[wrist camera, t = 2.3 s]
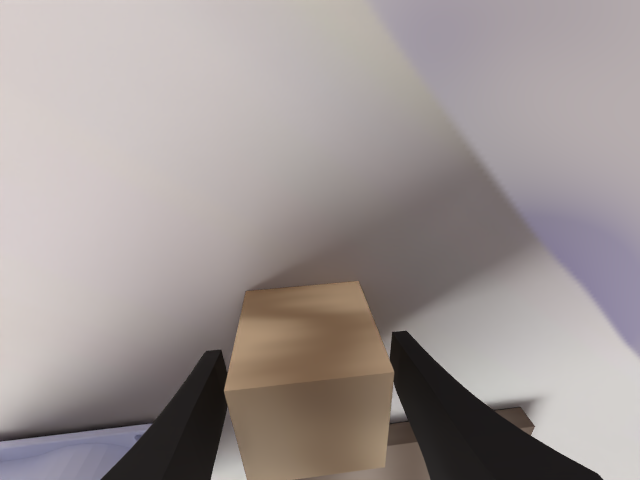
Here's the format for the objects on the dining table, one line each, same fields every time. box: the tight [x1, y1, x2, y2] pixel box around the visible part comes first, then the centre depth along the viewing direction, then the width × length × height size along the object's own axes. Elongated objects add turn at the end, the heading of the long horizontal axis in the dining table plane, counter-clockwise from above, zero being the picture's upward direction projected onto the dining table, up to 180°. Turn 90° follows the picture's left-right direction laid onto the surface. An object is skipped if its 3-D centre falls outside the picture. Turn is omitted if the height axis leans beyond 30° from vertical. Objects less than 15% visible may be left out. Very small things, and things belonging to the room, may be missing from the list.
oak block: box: [224, 281, 394, 480], centre depth 12 cm, size 5×5×5 cm
